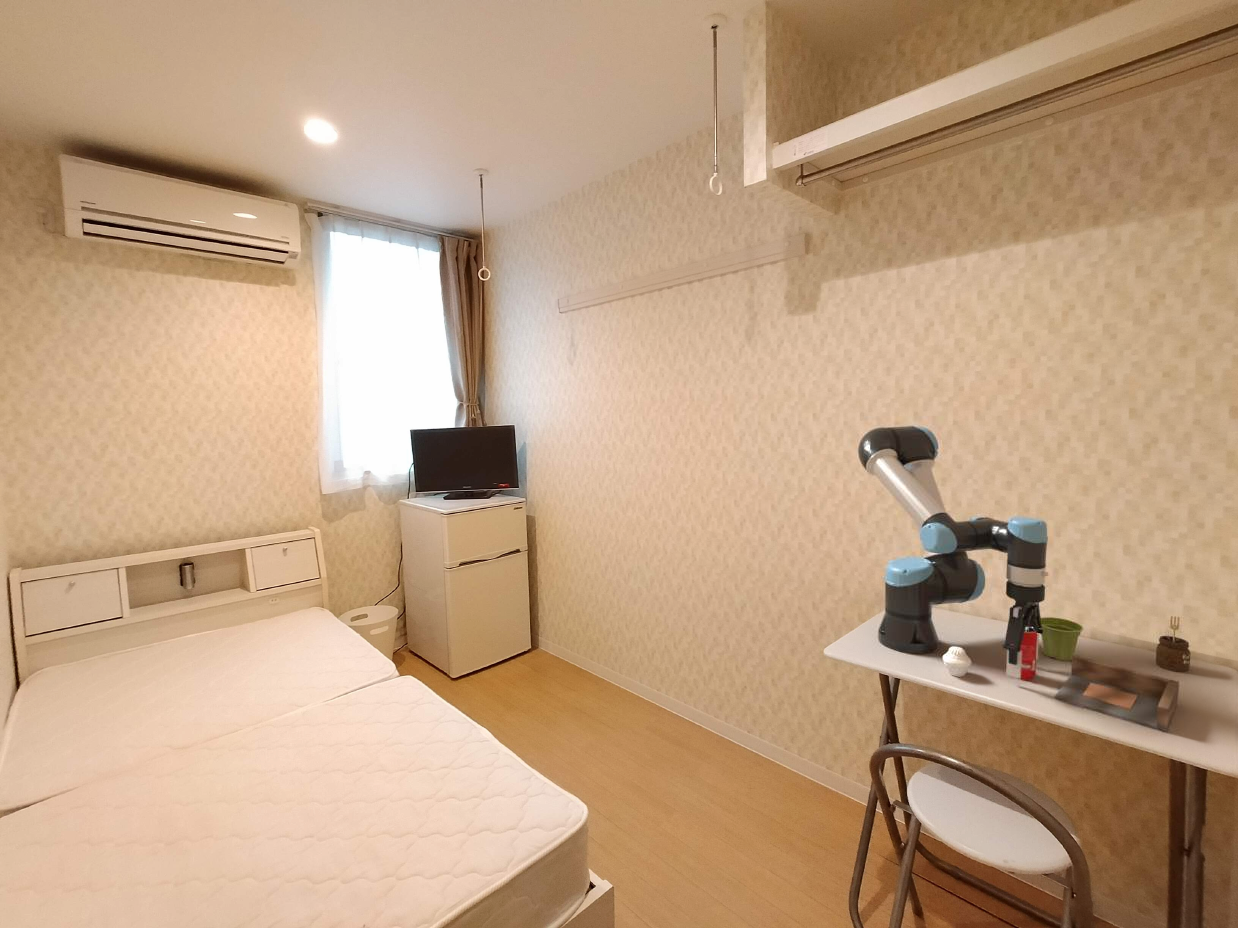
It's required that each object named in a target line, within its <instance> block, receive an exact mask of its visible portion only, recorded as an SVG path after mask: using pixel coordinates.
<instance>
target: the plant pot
mask: <svg viewBox="0 0 1238 928" xmlns="http://www.w3.org/2000/svg"><path fill="white" fill-rule="evenodd" d="M1041 625H1042V628H1041V629H1042V630H1043V634H1040V635H1041V641H1042V643H1041V644H1042V649H1043V654H1044V655H1046V656H1047V657H1049V658H1054V659H1055V660H1058V661H1065V662H1066V661H1072V657H1073V656H1074V655H1075V653H1076V648H1077V644H1078V639H1079V637H1080V636H1081V632H1083V631H1084V627H1083V625H1082V624H1081V623H1077V622H1076V621H1072V620H1069V619H1065V618H1060V617H1052V616H1051V617H1050V616H1047V617H1046V616H1044V617H1041Z"/></svg>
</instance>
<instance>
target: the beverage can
mask: <svg viewBox="0 0 1238 928" xmlns="http://www.w3.org/2000/svg"><path fill="white" fill-rule="evenodd" d="M1037 634H1038V633H1036V630H1035V629H1034V628H1032V627H1029V626H1026V628H1025V632H1024V636H1023V640H1022V644H1021V648H1020V651H1022V659H1021V678H1020V680H1024V681H1032V680H1034V677H1036V674H1037V672H1036V671H1037V669H1036V668H1037V660H1036V651H1037ZM1011 645H1012V644H1011ZM1017 679H1019V678H1017Z"/></svg>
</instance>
